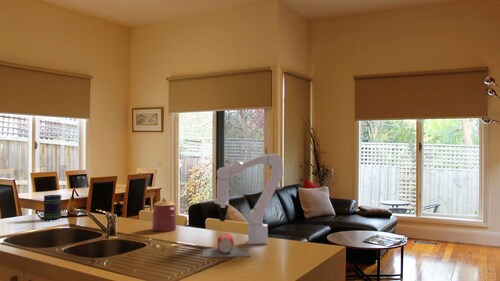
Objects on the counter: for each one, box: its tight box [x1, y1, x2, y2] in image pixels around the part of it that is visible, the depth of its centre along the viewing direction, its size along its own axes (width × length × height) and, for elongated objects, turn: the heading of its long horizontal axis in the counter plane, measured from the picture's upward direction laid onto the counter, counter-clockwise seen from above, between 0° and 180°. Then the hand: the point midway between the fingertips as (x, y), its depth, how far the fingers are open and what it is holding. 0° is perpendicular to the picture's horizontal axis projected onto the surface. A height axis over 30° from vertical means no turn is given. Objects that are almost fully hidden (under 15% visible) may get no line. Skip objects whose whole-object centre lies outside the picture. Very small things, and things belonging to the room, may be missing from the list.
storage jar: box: [43, 194, 62, 221], centre depth 260 cm, size 10×10×15 cm
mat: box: [201, 247, 251, 258], centre depth 181 cm, size 20×14×1 cm
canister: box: [151, 197, 177, 233], centre depth 232 cm, size 13×13×18 cm
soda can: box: [216, 232, 235, 253], centre depth 183 cm, size 7×7×12 cm
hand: (222, 220), depth 201 cm, fingers closed
